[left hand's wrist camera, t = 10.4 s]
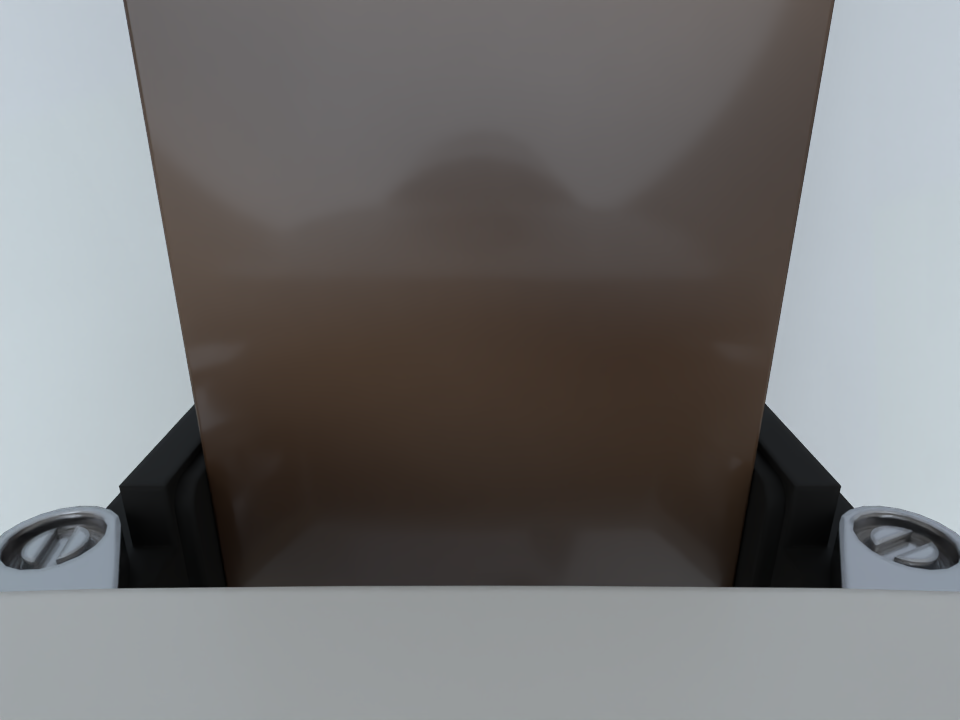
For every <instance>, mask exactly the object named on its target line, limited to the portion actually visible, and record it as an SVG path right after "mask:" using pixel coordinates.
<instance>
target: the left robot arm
mask: <svg viewBox="0 0 960 720" xmlns="http://www.w3.org/2000/svg"><path fill="white" fill-rule="evenodd" d="M119 488H120V493H119V495H118V496H117V497H116V498H115V499H114V500H113V501H112V502H111V503H110V504H109V506H108V507H107V508H102V507H98V506H76V507H69V508H62V509H58V510H54V511H51V512H47V513H43V514H40V515H38V516H35V517H33V518H31V519H28V520H26V521H23V522H21V523H20V524H18V525H16V526H14V527H13V528H11V529H9V530H8V531H6V532H4V533H3V534H2V535H1V536H0V720H960V536H959V535H958V534H957V533H956V532H954V531H952V530H951V529H949V528H947V527H946V526H944V525H942V524H940V523H939V522H937V521H934V520H932V519H929V518H927V517H925V516H922V515H920V514H917V513H913V512H909V511H906V510H902V509H898V508H891V507H884V506H862V507H858V508H853V507H852V505H851V504H850V503H849V502H848V501H847V500H846V499H845V498H844V497H843V495H842V494H841V493H840V489H841V485H840V484H839V483H838V482H837V481H836V480H835V479H834V478H833V477H832V476H831V475H830V473H829V472H828V471H827V470H826V469H825V468H824V467H823V466H822V465H821V464H820V463H819V462H818V460H817V459H816V458H815V457H814V456H813V455H812V454H811V453H810V452H809V451H808V450H807V449H806V447H805V446H804V445H803V444H802V443H801V442H800V441H799V440H798V439H797V438H796V437H795V435H794V434H793V433H792V432H791V431H790V430H789V429H788V428H787V427H786V426H785V425H784V424H783V422H782V421H781V420H780V419H779V418H778V417H777V416H776V415H775V414H774V413H773V412H772V410H771V409H770V408H769V407H768V406H767V405H766V404H765V406H764V411H763V417H762V423H761V429H760V434H759V440H758V446H757V452H756V458H755V463H754V469H753V475H752V481H751V486H750V492H749V498H748V504H747V510H746V515H745V521H744V527H743V533H742V538H741V544H740V550H739V556H738V562H737V567H736V573H735V579H734V585H733V587H631V586H306V587H227V584H226V579H225V573H224V567H223V562H222V556H221V550H220V545H219V539H218V533H217V528H216V522H215V517H214V511H213V505H212V500H211V494H210V488H209V483H208V477H207V471H206V466H205V460H204V454H203V449H202V443H201V437H200V432H199V426H198V420H197V415H196V409H195V404H194V405H193V406H192V407H191V408H190V410H189V411H188V412H187V413H186V414H185V415H184V416H183V417H182V418H181V419H180V420H179V422H178V423H177V424H176V425H175V426H174V427H173V428H172V429H171V430H170V431H169V432H168V433H167V435H166V436H165V437H164V438H163V439H162V440H161V441H160V442H159V443H158V444H157V445H156V446H155V448H154V449H153V450H152V451H151V452H150V453H149V454H148V455H147V456H146V457H145V458H144V460H143V461H142V462H141V463H140V464H139V465H138V466H137V467H136V468H135V469H134V470H133V471H132V473H131V474H130V475H129V476H128V477H127V478H126V479H125V480H124V481H123V482H122V483H121V485H120V486H119Z"/></svg>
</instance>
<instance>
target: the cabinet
mask: <svg viewBox="0 0 960 720" xmlns="http://www.w3.org/2000/svg"><path fill="white" fill-rule="evenodd" d="M834 1H835V0H123V2H124V7H125V13H126V19H127V24H128V30H129V36H130V41H131V47H132V53H133V58H134V64H135V70H136V75H137V81H138V87H139V92H140V98H141V103H142V109H143V115H144V120H145V126H146V132H147V137H148V143H149V149H150V154H151V160H152V166H153V171H154V177H155V183H156V188H157V194H158V200H159V205H160V211H161V217H162V222H163V228H164V234H165V239H166V245H167V251H168V256H169V262H170V268H171V273H172V279H173V285H174V290H175V296H176V302H177V307H178V313H179V318H180V324H181V330H182V335H183V341H184V347H185V352H186V358H187V364H188V369H189V375H190V381H191V386H192V392H193V398H194V403H195V409H196V415H197V420H198V426H199V432H200V437H201V443H202V449H203V454H204V460H205V466H206V471H207V477H208V483H209V488H210V494H211V500H212V505H213V511H214V517H215V522H216V528H217V533H218V539H219V545H220V550H221V556H222V562H223V567H224V573H225V579H226V584H227V587H306V586H631V587H733V585H734V579H735V573H736V567H737V562H738V556H739V550H740V544H741V538H742V533H743V527H744V521H745V515H746V510H747V504H748V498H749V492H750V486H751V481H752V475H753V469H754V463H755V458H756V452H757V446H758V440H759V434H760V429H761V423H762V417H763V411H764V406H765V400H766V394H767V388H768V382H769V377H770V371H771V365H772V359H773V354H774V348H775V342H776V336H777V330H778V325H779V319H780V313H781V307H782V302H783V296H784V290H785V284H786V278H787V273H788V267H789V261H790V255H791V250H792V244H793V238H794V232H795V226H796V221H797V215H798V209H799V203H800V198H801V192H802V186H803V180H804V175H805V169H806V163H807V157H808V151H809V146H810V140H811V134H812V128H813V123H814V117H815V111H816V105H817V99H818V94H819V88H820V82H821V76H822V71H823V65H824V59H825V53H826V47H827V42H828V36H829V30H830V24H831V19H832V13H833V7H834Z"/></svg>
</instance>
